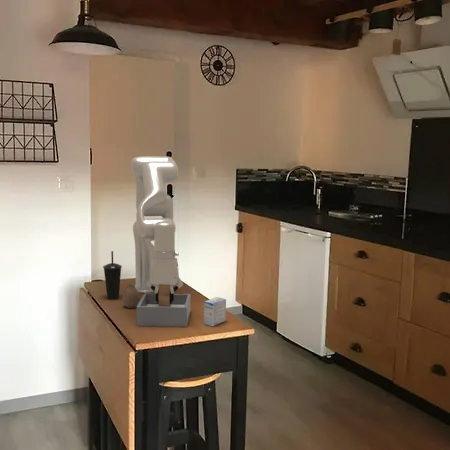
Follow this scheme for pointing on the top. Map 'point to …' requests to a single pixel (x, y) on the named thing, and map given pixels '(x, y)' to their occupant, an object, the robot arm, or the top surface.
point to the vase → (131, 297)
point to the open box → (164, 311)
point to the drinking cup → (112, 279)
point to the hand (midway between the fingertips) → (164, 302)
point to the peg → (164, 295)
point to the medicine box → (214, 311)
